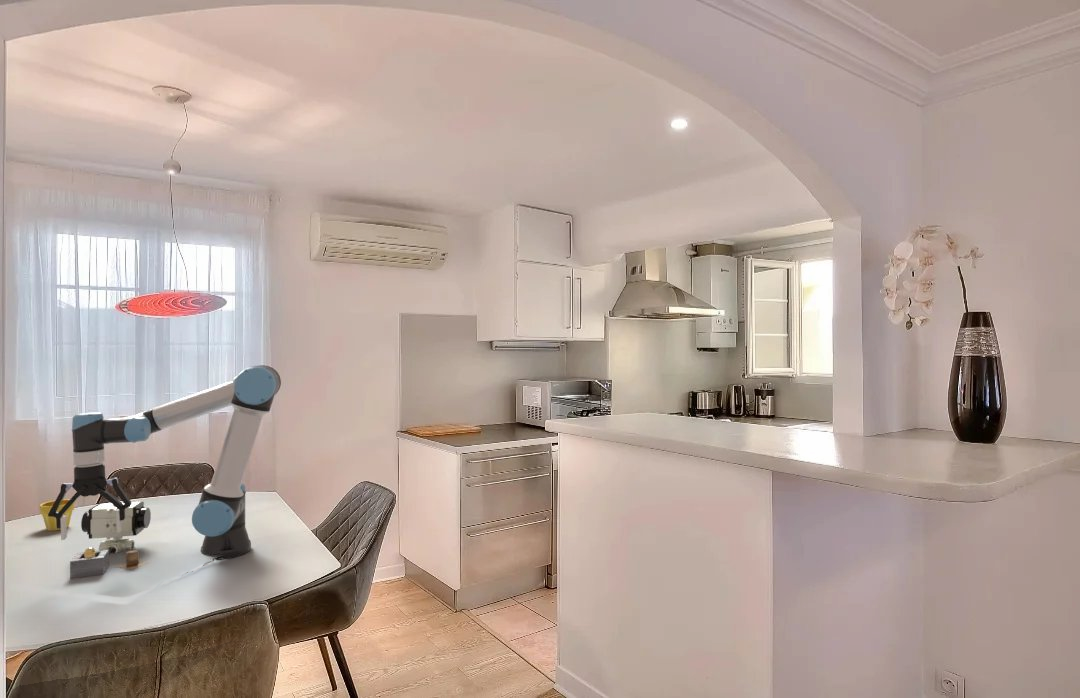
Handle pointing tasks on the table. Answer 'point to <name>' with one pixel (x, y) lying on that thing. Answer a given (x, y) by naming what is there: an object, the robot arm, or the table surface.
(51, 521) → the plant pot
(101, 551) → the grey square box
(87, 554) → the door knob
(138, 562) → the brown knob on base
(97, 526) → the ball valve
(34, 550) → the table surface
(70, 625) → the table surface
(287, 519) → the table surface
